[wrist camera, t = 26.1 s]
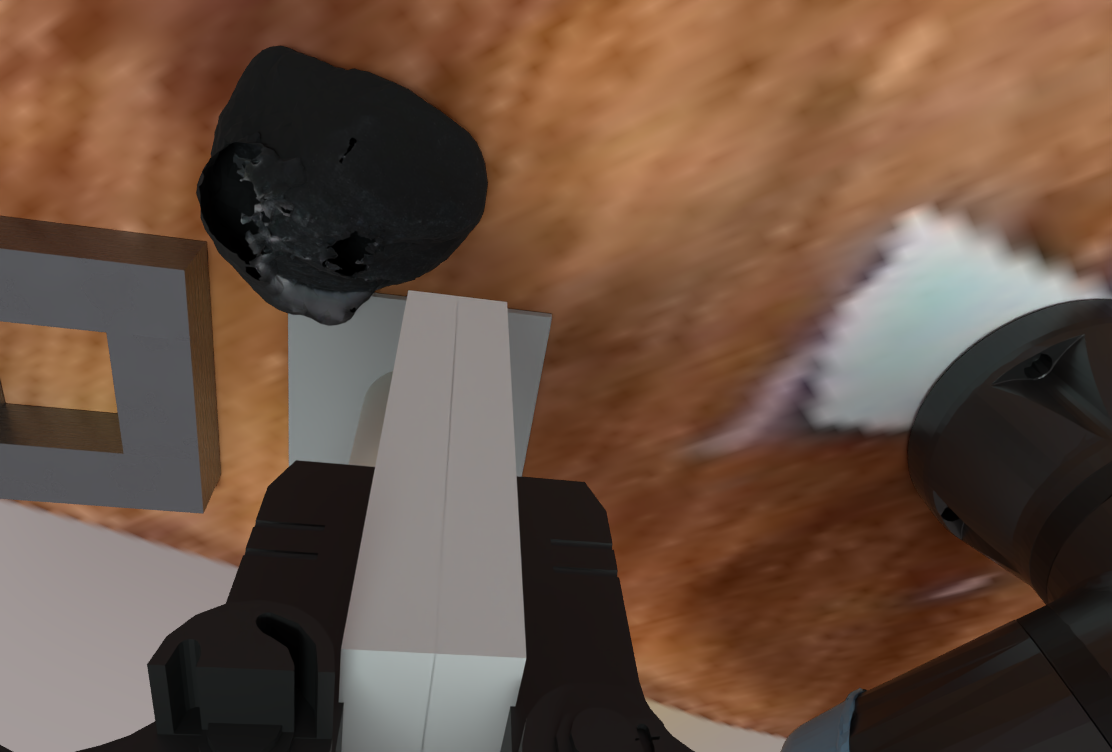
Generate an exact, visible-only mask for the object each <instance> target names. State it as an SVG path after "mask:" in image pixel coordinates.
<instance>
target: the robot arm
mask: <svg viewBox="0 0 1112 752" xmlns="http://www.w3.org/2000/svg"><path fill="white" fill-rule="evenodd" d="M908 467H909V472H910V476H911V479H912V482H913V484H914V486H915V488H916V490H917V491H918V493H919V495H920V496H921V497H922V499H923V500H924V502H925V503H926V504H927V506H928V507H929V508H930V510H931V511H932V513H933V514H934V515H935V517H936V518H937V519H938V521H939V522H940V523H941V524H942V525H943V526H944V527H945V528H946V529H947V530H949V531H950V532H951V533H952V534H954V535H955V536H956V537H958V538H959V539H961V540H962V541H964V542H965V543H967V544H968V545H970V546H971V547H973V548H974V549H976V550H977V551H979V552H980V553H982V554H983V555H985V556H986V557H988V558H989V559H991V560H992V561H994V562H995V563H997V564H998V565H1000V566H1002V567H1003V568H1005V569H1006V570H1008V571H1009V572H1011V573H1012V574H1014V575H1015V576H1017V577H1018V578H1020V579H1021V580H1023V581H1024V582H1026V583H1027V584H1029V585H1030V586H1031V587H1032V588H1033V589H1034V590H1035V591H1036V593H1037V594H1038V595H1039V596H1040V598H1041V599H1042V600H1043V602H1044V603H1045V604H1046V606H1044V607H1042V608H1039V609H1037V610H1035V611H1033V612H1031V613H1029V614H1027V615H1025V616H1023V617H1021V618H1019V619H1016V620H1013V621H1011V622H1009V623H1007V624H1005V625H1003V626H1001V627H999V628H996V629H994V630H992V631H990V632H988V633H986V634H984V635H982V636H980V637H978V638H976V639H974V640H972V641H970V642H968V643H966V644H964V645H962V646H960V647H958V648H956V649H953V650H951V651H949V652H947V653H945V654H943V655H941V656H939V657H937V658H935V659H933V660H931V661H929V662H927V663H925V664H923V665H921V666H919V667H917V668H915V669H913V670H910V671H908V672H906V673H904V674H902V675H900V676H898V677H896V678H894V679H892V680H890V681H888V682H886V683H883V684H881V685H879V686H877V687H875V688H873V689H870V690H868V691H867V690H865V689H861V688H859V689H857V690H855V691H853V692H851V693H850V694H849V695H848V697H847V698H846V700H845V701H844V702H842V703H840V704H838V705H837V706H835V707H833V708H831V709H829V710H828V711H826V712H824V713H822V714H820V715H819V716H817V717H815V718H813V719H811V720H810V721H808V722H806V723H804V724H802V725H801V726H799V727H798V728H797V729H795V730H794V731H793V732H792V733H791V734H790V735H789V737H788V738H787V739H786V741H785V743H784V745H783V747H782V750H781V752H1112V300H1084V301H1076V302H1070V303H1065V304H1061V305H1057V306H1053V307H1049V308H1046V309H1043V310H1040V311H1037V312H1035V313H1032V314H1029V315H1027V316H1025V317H1022V318H1020V319H1018V320H1016V321H1014V322H1012V323H1010V324H1008V325H1006V326H1004V327H1003V328H1001V329H999V330H997V331H996V332H994V333H992V334H991V335H989V336H988V337H986V338H985V339H983V340H982V341H981V342H979V343H978V344H976V345H975V346H974V347H973V348H971V349H970V350H969V351H968V352H966V353H965V354H964V355H963V356H962V357H961V358H960V359H958V360H957V361H956V362H955V363H954V364H953V365H952V366H951V367H950V368H949V369H948V371H947V372H946V373H945V374H944V375H943V376H942V377H941V378H940V380H939V381H938V382H937V383H936V385H935V386H934V387H933V389H932V390H931V392H930V393H929V395H928V396H927V398H926V399H925V401H924V403H923V405H922V406H921V408H920V410H919V412H918V415H917V417H916V419H915V422H914V425H913V427H912V431H911V434H910V439H909V445H908ZM617 571H618V570H617V565H616V559H615V554H614V550H612V539H611V534H610V529H609V523H608V518H607V513H606V510H605V509H604V508H603V506H602V505H601V504H600V502H599V501H598V499H597V498H596V497H595V495H594V494H593V493H592V491H591V490H590V489H589V487H588V486H587V485H586V483H585V482H577V481H566V480H554V479H542V478H531V477H519V476H516V457H515V439H514V421H513V402H512V384H511V366H510V347H509V329H508V310H507V302H503V301H494V300H486V299H478V298H470V297H461V296H453V295H445V294H436V293H428V292H420V291H411V290H408V295H407V300H406V305H405V311H404V316H403V321H402V327H401V332H400V337H399V343H398V348H397V353H396V359H395V364H394V369H393V375H392V380H391V385H390V391H389V396H388V401H387V407H386V412H385V417H384V423H383V428H382V433H381V439H380V444H379V449H378V455H377V460H376V465H375V467H371V466H359V465H347V464H335V463H323V462H312V461H300V460H296V461H295V462H294V463H292V464H291V465H290V466H289V467H288V468H287V469H286V470H285V471H284V472H283V473H282V474H281V475H280V476H279V477H278V478H277V479H276V480H275V481H273V482H272V483H271V484H270V485H269V486H268V488H267V491H266V493H265V496H264V499H263V502H262V504H261V507H260V510H259V513H258V516H257V518H256V524H255V527H253V529H252V532H251V535H250V538H249V541H248V543H247V546H246V552H245V555H243V557H242V560H241V563H240V566H239V568H238V571H237V574H236V577H235V580H234V582H233V585H232V588H231V591H230V593H229V596H228V599H227V602H226V604H224V605H221V606H219V607H216V608H213V609H211V610H208V611H205V612H202V613H200V614H197V615H195V616H194V617H192V618H191V619H189V620H188V621H187V622H185V623H184V624H183V625H181V626H180V627H179V628H177V629H176V630H175V631H173V632H172V633H171V634H169V635H168V636H167V637H166V638H165V639H164V641H163V642H162V644H161V645H160V647H159V648H158V650H157V651H156V653H155V654H154V655H153V657H152V659H151V660H150V661H149V663H148V664H147V667H148V674H149V680H150V687H151V694H152V700H153V708H154V714H155V722H153V723H151V724H150V725H148V726H146V727H144V728H142V729H141V730H138V731H137V732H135V733H133V734H131V735H129V736H126V737H124V738H121V739H118V740H115V741H112V742H109V743H106V744H103V745H100V746H96V747H92V748H88V749H84V750H80V751H76V752H695V751H692V750H691V749H690V748H688V747H687V746H686V745H684V744H682V743H681V742H680V741H679V740H677V739H676V738H675V737H673V736H672V735H671V734H670V733H669V732H668V731H667V729H666V728H665V727H664V724H663V723H662V721H661V720H659V718H658V717H657V716H656V715H655V714H654V713H653V711H652V710H651V709H650V707H649V706H648V704H647V702H646V701H645V698H644V695H643V692H642V688H641V685H640V682H639V678H638V673H637V667H636V662H635V657H634V652H633V647H632V642H631V637H630V631H629V626H628V621H627V616H626V611H625V606H624V601H623V595H622V590H621V585H620V580H619V578H618V577H617ZM0 752H12V751H11V750H9V749H7V748H5V747H3V746H1V745H0Z"/></svg>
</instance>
